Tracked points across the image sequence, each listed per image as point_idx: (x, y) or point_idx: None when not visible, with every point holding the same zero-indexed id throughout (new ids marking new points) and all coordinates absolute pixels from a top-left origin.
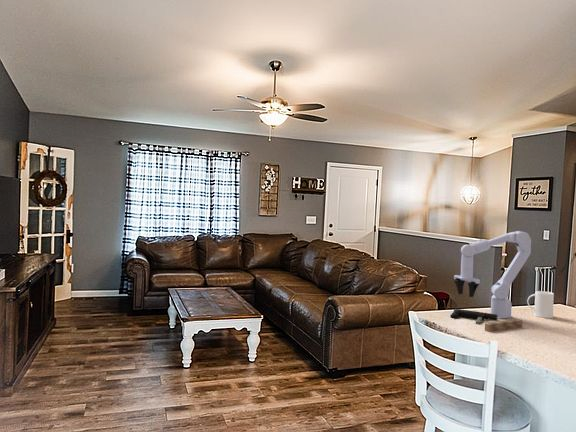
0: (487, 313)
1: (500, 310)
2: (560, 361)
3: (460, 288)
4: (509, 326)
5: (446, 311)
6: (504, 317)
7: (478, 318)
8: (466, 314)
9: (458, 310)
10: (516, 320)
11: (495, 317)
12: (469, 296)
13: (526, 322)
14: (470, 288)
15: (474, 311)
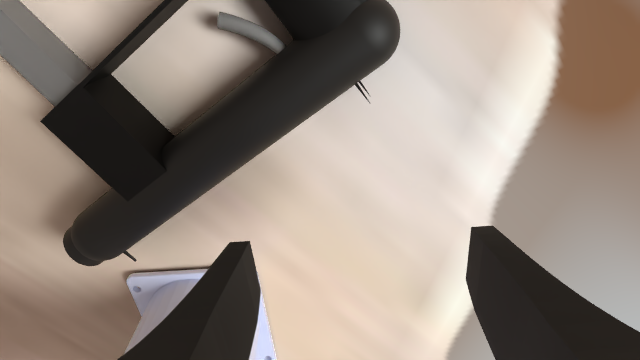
0: (117, 217)
1: (131, 341)
2: None
3: (510, 326)
4: None
5: (510, 2)
6: (140, 314)
7: (19, 39)
8: (160, 5)
9: (322, 27)
10: None
11: (70, 228)
12: (247, 242)
13: (44, 354)
14: (145, 350)
15: (204, 153)
